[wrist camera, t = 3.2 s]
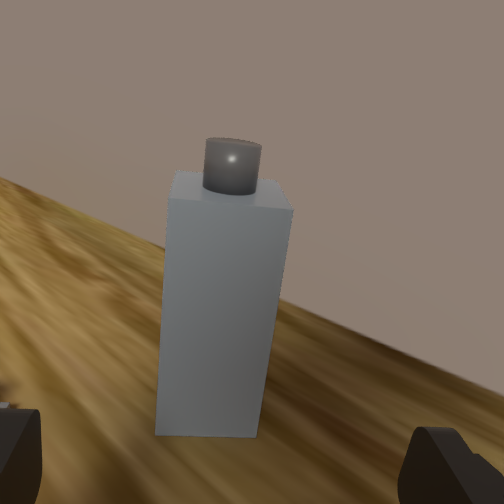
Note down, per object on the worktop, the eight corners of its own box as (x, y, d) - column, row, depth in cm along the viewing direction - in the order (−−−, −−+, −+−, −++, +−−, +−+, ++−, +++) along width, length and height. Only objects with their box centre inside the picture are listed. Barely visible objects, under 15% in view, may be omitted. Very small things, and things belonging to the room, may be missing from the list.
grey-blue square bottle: (247, 374, 27) (282, 140, 22) (255, 437, 23) (301, 160, 17) (163, 371, 26) (178, 128, 21) (154, 435, 22) (171, 145, 17)
